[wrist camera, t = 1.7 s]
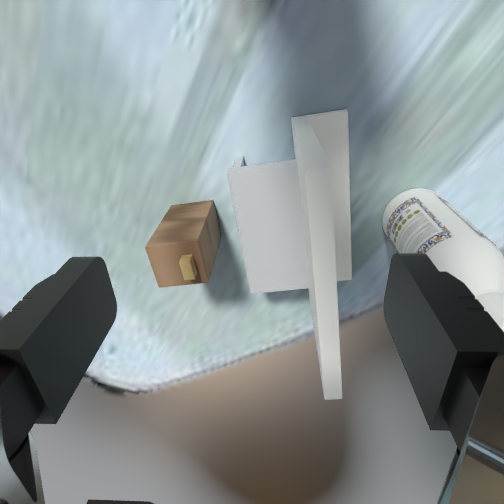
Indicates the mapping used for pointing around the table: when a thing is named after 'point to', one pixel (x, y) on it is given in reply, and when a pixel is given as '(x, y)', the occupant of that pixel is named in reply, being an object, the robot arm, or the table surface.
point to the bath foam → (448, 244)
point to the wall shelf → (301, 226)
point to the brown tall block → (185, 244)
